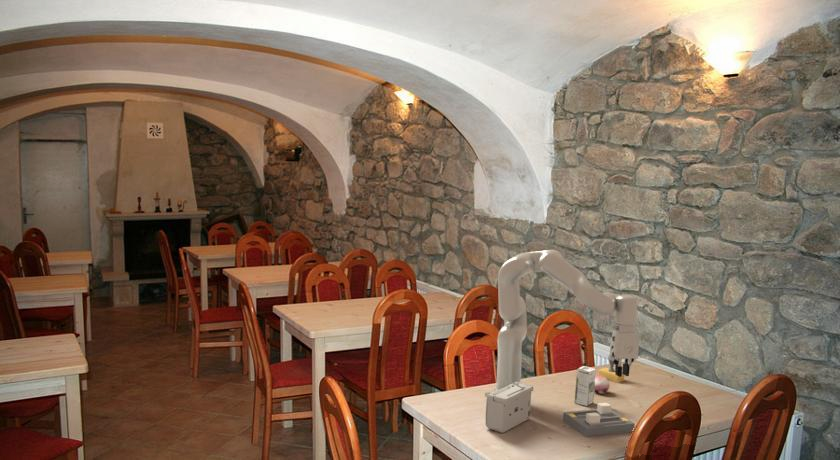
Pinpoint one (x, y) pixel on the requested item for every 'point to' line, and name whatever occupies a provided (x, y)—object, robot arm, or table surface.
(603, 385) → the apple
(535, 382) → the table surface
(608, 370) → the rubber stamp
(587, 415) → the front tab
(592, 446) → the table surface
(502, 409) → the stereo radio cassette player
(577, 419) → the switch panel
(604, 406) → the back tab
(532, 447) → the table surface
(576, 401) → the syrup box
